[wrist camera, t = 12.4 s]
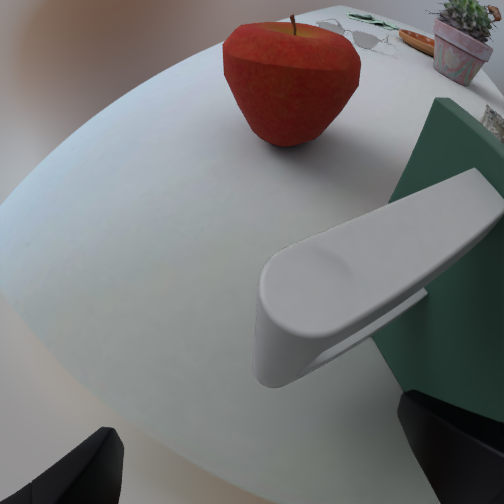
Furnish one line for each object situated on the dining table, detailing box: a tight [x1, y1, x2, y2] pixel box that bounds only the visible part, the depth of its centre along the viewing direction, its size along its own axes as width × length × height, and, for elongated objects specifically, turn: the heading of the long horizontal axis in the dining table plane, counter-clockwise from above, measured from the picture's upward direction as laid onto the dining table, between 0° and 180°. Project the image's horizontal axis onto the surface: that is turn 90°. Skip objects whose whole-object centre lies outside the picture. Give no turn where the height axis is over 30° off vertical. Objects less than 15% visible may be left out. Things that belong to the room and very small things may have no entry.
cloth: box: [347, 13, 399, 30], centre depth 74 cm, size 20×22×2 cm
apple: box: [223, 15, 361, 147], centre depth 20 cm, size 11×11×12 cm
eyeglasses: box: [316, 19, 388, 49], centre depth 50 cm, size 15×18×4 cm
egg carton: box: [480, 104, 504, 145], centre depth 29 cm, size 11×8×4 cm
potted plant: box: [432, 0, 501, 86], centre depth 36 cm, size 18×20×25 cm
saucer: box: [399, 29, 435, 57], centre depth 57 cm, size 23×23×4 cm
